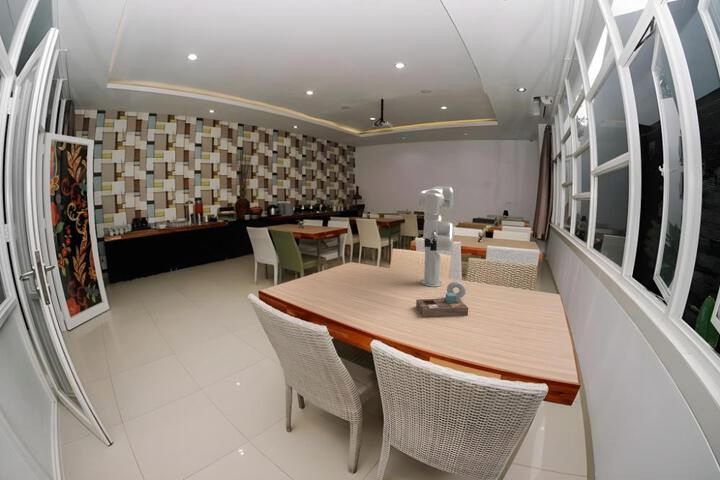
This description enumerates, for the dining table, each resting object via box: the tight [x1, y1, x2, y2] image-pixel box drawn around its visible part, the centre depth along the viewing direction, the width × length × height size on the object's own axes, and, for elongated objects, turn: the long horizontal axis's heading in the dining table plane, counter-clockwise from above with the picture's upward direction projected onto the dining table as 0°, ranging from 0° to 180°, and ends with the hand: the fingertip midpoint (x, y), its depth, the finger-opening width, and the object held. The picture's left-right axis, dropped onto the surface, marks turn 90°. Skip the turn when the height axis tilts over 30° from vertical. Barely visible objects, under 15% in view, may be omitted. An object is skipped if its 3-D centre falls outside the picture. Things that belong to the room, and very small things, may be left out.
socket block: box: [415, 298, 469, 318], centre depth 142 cm, size 12×22×4 cm, turn 95°
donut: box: [446, 280, 467, 300], centre depth 157 cm, size 10×4×10 cm, turn 69°
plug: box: [445, 292, 457, 304], centre depth 144 cm, size 4×4×8 cm
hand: (430, 248), depth 154 cm, fingers open, 9 cm apart
